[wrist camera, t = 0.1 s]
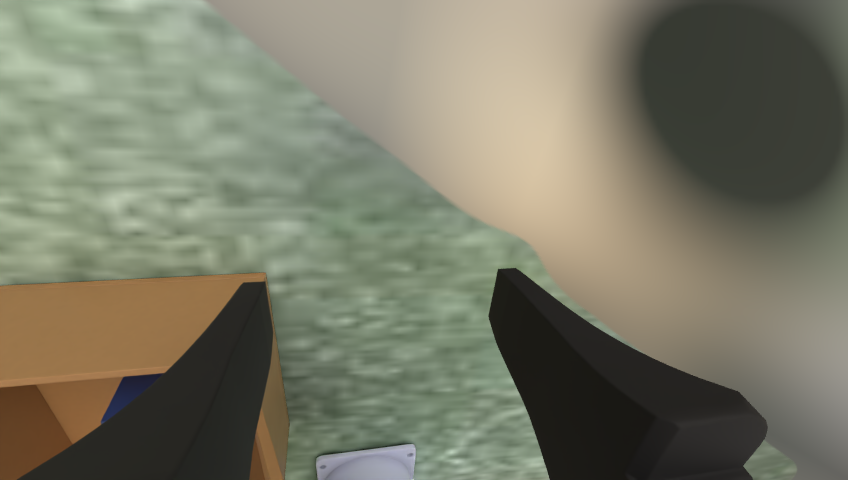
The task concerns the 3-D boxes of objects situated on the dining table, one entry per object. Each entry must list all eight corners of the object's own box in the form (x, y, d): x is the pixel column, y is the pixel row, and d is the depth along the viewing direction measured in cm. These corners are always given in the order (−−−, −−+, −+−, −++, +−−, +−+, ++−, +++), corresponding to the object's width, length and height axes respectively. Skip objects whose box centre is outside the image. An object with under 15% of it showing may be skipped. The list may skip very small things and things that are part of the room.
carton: (266, 272, 24) (247, 359, 18) (289, 423, 31) (281, 518, 26) (-26, 286, 21) (-146, 393, 16) (75, 449, 28) (16, 559, 23)
